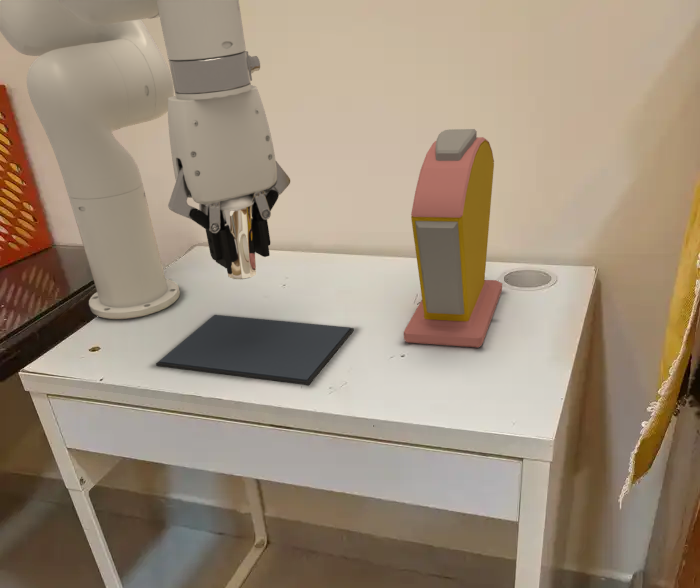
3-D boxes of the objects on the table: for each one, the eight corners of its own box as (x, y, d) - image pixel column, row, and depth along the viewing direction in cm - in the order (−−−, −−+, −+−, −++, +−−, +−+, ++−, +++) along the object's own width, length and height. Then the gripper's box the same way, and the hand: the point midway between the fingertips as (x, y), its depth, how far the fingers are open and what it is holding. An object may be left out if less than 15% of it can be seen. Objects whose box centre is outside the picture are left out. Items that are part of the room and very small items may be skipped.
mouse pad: (156, 365, 86) (155, 362, 86) (214, 317, 96) (213, 313, 96) (308, 385, 79) (308, 381, 79) (354, 330, 90) (353, 326, 89)
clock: (437, 281, 100) (436, 112, 88) (505, 284, 97) (513, 109, 85) (397, 354, 83) (388, 157, 71) (477, 360, 81) (483, 157, 68)
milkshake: (262, 282, 80) (251, 188, 74) (216, 281, 81) (202, 188, 75) (273, 268, 84) (264, 178, 78) (230, 267, 85) (217, 178, 79)
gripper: (268, 62, 77) (291, 233, 87) (116, 87, 70) (161, 270, 81) (303, 66, 71) (322, 248, 82) (142, 94, 65) (186, 288, 75)
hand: (242, 257), depth 81 cm, fingers closed on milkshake, 4 cm apart
